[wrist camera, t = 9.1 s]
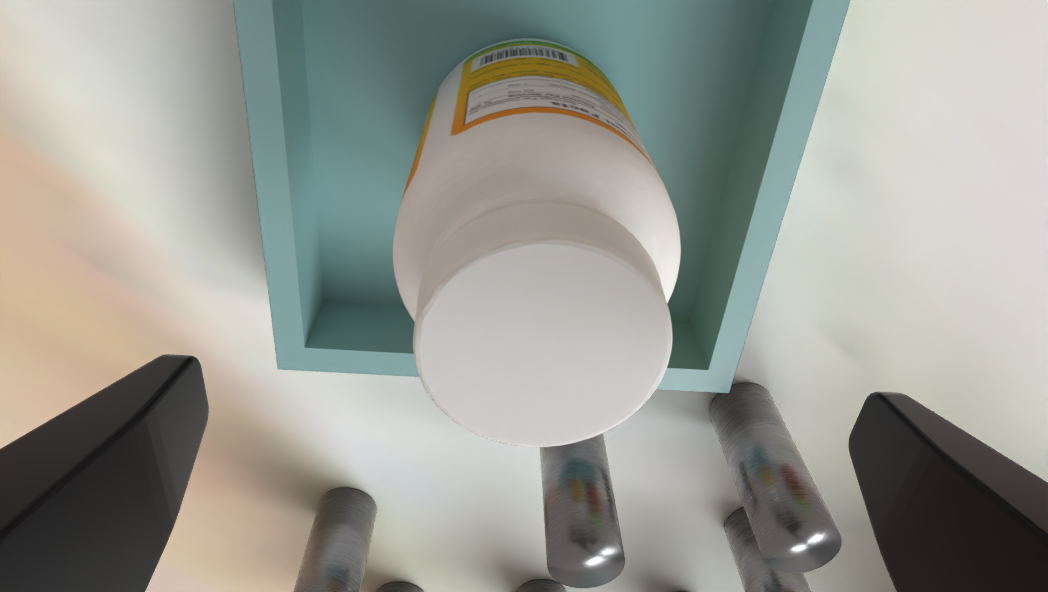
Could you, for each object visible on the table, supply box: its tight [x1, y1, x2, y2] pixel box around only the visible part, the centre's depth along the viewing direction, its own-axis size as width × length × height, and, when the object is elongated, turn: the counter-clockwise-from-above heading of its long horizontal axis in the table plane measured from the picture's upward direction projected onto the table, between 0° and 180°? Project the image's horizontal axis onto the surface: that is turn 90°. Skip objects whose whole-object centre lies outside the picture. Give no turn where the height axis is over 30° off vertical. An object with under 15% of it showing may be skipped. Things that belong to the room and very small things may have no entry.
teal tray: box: [233, 0, 850, 393], centre depth 18 cm, size 13×13×3 cm
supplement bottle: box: [393, 38, 681, 447], centre depth 15 cm, size 5×5×10 cm
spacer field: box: [294, 383, 841, 592], centre depth 25 cm, size 18×14×6 cm
